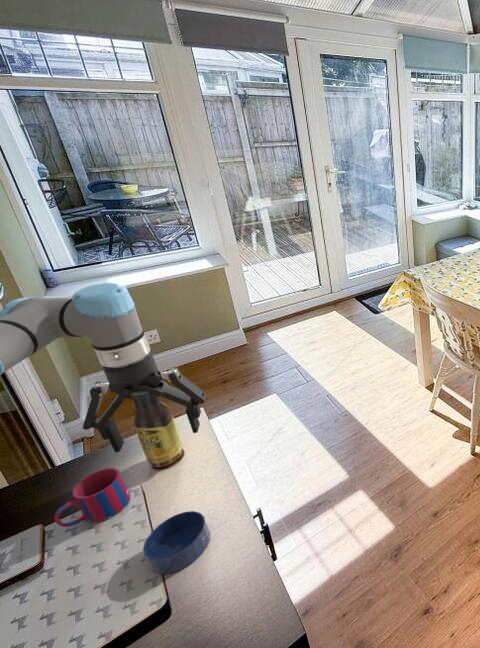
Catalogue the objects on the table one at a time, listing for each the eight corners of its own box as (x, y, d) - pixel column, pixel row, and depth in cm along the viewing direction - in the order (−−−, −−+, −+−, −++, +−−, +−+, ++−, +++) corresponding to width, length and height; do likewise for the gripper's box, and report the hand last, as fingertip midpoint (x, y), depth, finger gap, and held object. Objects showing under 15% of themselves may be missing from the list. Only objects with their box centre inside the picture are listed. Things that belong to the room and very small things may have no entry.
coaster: (147, 473, 89) (147, 472, 89) (155, 453, 94) (155, 452, 94) (181, 464, 91) (180, 463, 91) (187, 445, 96) (186, 444, 96)
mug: (137, 501, 83) (125, 477, 81) (70, 544, 75) (55, 519, 73) (122, 486, 86) (110, 462, 83) (56, 526, 78) (41, 501, 75)
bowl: (143, 583, 70) (136, 569, 68) (158, 536, 77) (151, 522, 76) (205, 561, 73) (199, 547, 72) (214, 518, 81) (208, 504, 79)
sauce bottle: (142, 467, 90) (110, 395, 82) (167, 444, 96) (140, 376, 88) (168, 471, 89) (138, 400, 81) (192, 449, 95) (167, 380, 87)
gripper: (31, 385, 74) (76, 470, 82) (198, 354, 83) (223, 433, 92) (51, 361, 80) (92, 442, 88) (205, 335, 90) (228, 410, 98)
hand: (159, 437), depth 90 cm, fingers open, 13 cm apart
